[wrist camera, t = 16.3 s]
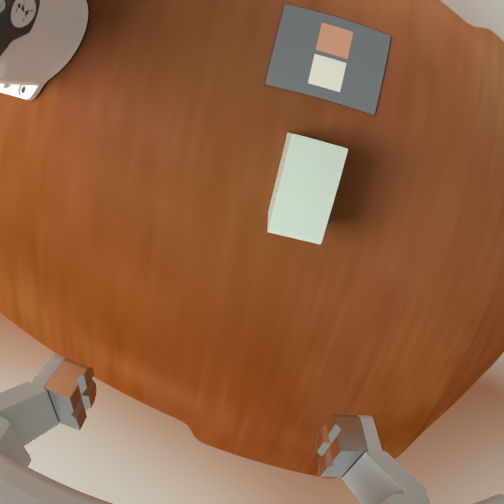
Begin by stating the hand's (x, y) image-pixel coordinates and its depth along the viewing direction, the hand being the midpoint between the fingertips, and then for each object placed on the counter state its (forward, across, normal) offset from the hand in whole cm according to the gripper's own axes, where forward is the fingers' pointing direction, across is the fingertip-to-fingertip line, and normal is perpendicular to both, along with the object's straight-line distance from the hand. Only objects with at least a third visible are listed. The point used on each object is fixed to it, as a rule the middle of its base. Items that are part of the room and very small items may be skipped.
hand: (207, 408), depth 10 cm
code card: (+28, -5, -18) cm, 33 cm away
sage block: (+28, -5, -4) cm, 28 cm away
